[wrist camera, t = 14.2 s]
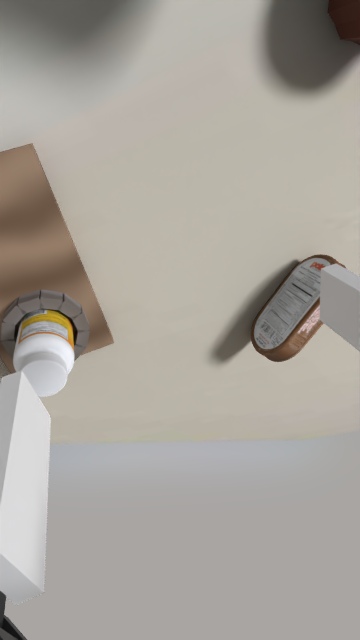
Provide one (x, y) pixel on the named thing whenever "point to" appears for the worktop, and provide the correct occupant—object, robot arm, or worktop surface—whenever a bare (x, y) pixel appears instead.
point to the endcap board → (40, 259)
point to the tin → (291, 312)
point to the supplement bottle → (45, 350)
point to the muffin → (346, 18)
